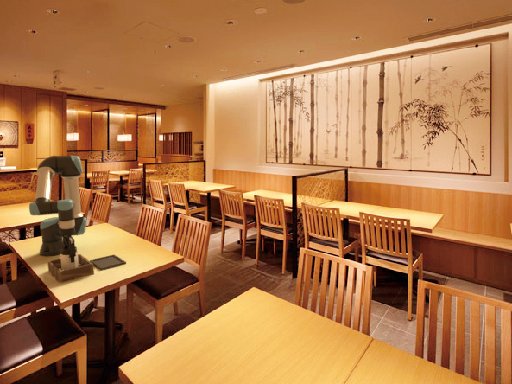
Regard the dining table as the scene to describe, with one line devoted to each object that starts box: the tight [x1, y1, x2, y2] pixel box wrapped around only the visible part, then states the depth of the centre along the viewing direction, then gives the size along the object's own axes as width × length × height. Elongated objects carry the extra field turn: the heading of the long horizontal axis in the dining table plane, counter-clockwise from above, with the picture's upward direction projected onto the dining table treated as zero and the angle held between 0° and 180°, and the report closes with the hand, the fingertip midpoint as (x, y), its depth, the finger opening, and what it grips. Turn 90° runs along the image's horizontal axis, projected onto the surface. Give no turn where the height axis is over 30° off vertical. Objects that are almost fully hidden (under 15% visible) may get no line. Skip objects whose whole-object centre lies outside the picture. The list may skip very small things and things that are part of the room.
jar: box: [59, 245, 80, 271], centre depth 188 cm, size 9×8×12 cm
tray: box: [89, 254, 127, 271], centre depth 203 cm, size 18×15×1 cm
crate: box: [47, 253, 95, 284], centre depth 188 cm, size 22×17×6 cm
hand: (70, 265), depth 188 cm, fingers closed on jar, 7 cm apart
